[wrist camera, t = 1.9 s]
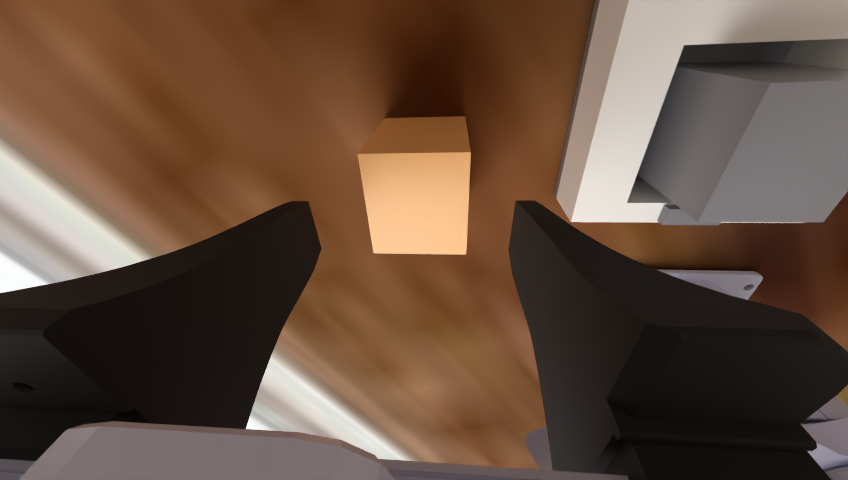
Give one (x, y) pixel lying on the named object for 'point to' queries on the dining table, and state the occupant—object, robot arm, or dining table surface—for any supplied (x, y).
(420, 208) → the plug
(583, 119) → the white rectangular base
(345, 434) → the dining table surface
